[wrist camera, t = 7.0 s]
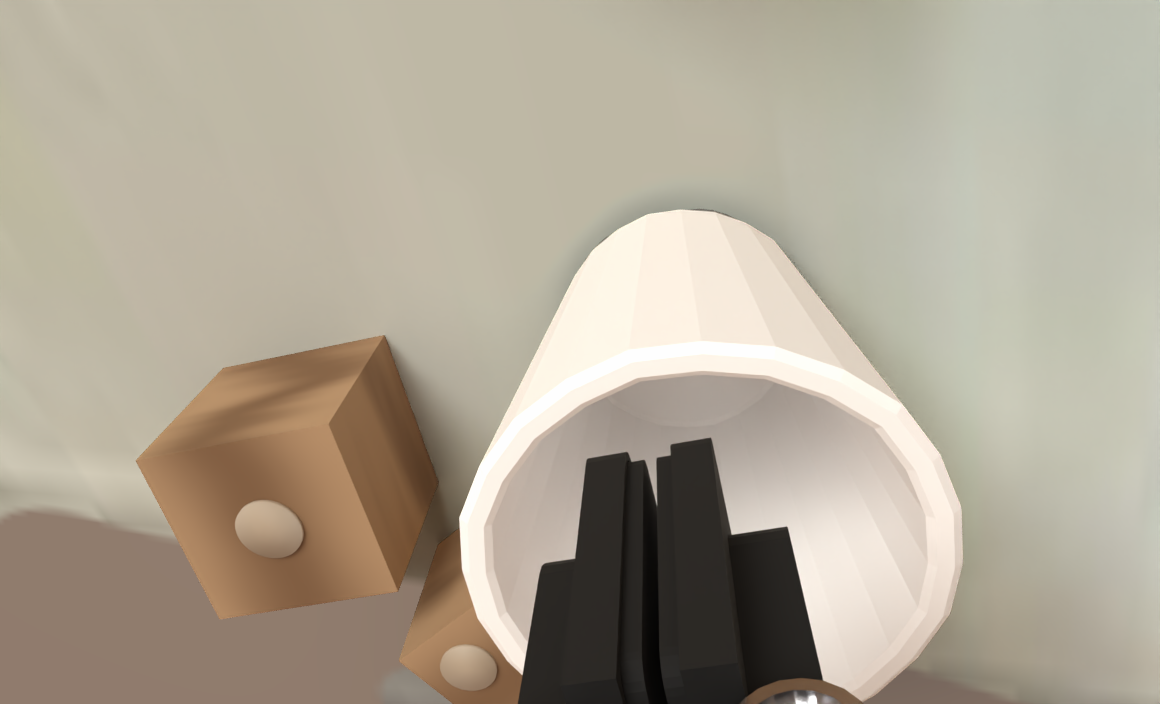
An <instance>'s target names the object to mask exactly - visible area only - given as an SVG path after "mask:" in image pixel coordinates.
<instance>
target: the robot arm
mask: <svg viewBox="0 0 1160 704" xmlns="http://www.w3.org/2000/svg"><path fill="white" fill-rule="evenodd" d="M670 452H671V455H669V456H663V457H658V458H657V459H656V470H657V504H656V500H655V496H654V492H653V488H652V484H651V479H650V475H649V471H648V468H647V464H646V462H645V460H640V461H634V462H631V459H630V456H629V454H628V452H622V453H617V454H611V455H605V456H599V457H593V458H588V459H587V461H586V467H585V476H584V484H583V493H582V502H581V510H580V519H579V528H578V537H577V545H576V554H575V559H569V560H562V561H555V562H549V563H544V564H543V565H542V566H541V570H540V574H539V579H538V585H537V591H536V597H535V603H534V609H533V615H532V621H531V627H530V633H529V639H528V645H527V651H526V657H525V663H524V669H523V675H522V681H521V687H520V693H519V699H518V704H863V703H862V701H860V700H859V699H858V698H856V697H855V696H854V695H852V694H851V693H850V692H848V691H847V690H845V689H844V688H841V687H839V686H836V685H834V684H831V683H828V682H826V681H823V677H822V673H821V668H820V664H819V660H818V655H817V651H816V647H815V642H814V638H813V634H812V629H811V625H810V621H809V616H808V612H807V608H806V603H805V599H804V595H803V590H802V586H801V582H800V577H799V573H798V569H797V565H796V560H795V556H794V552H793V547H792V543H791V539H790V534H789V530H788V527H780V528H773V529H767V530H760V531H753V532H747V533H740V534H734V535H732V534H731V529H730V524H729V519H728V514H727V510H726V505H725V500H724V495H723V490H722V486H721V481H720V476H719V471H718V466H717V462H716V457H715V452H714V447H713V443H712V439H711V438H705V439H699V440H693V441H687V442H681V443H675V444H671V445H670Z"/></svg>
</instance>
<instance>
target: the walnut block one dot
mask: <svg viewBox="0 0 1160 704" xmlns="http://www.w3.org/2000/svg"><path fill="white" fill-rule="evenodd" d="M136 462H137V464H138V466H139V468H140V470H141V472H142V474H143V475H144V477H145V479H146V481H147V483H148V485H149V487H150V489H151V491H152V492H153V494H154V496H155V498H156V500H157V502H158V504H159V506H160V508H161V509H162V511H163V513H164V515H165V517H166V519H167V521H168V523H169V525H170V526H171V528H172V530H173V532H174V534H175V536H176V538H177V540H178V542H179V543H180V545H181V547H182V549H183V551H184V553H185V555H186V557H187V559H188V560H189V562H190V564H191V566H192V568H193V570H194V572H195V574H196V575H197V577H198V579H199V581H200V583H201V585H202V587H203V589H204V591H205V593H206V594H207V596H208V598H209V600H210V602H211V604H212V606H213V608H214V609H215V611H216V613H217V615H218V617H219V619H225V618H231V617H238V616H244V615H250V614H257V613H263V612H270V611H277V610H282V609H289V608H296V607H302V606H309V605H315V604H322V603H328V602H334V601H341V600H347V599H354V598H359V597H366V596H373V595H380V594H386V593H392V592H398V590H399V588H400V585H401V582H402V580H403V577H404V574H405V572H406V569H407V566H408V563H409V561H410V558H411V555H412V553H413V550H414V547H415V544H416V542H417V539H418V536H419V534H420V531H421V528H422V526H423V523H424V520H425V517H426V515H427V512H428V509H429V507H430V504H431V501H432V498H433V496H434V493H435V490H436V488H437V485H438V479H437V477H436V474H435V471H434V468H433V466H432V463H431V460H430V458H429V455H428V452H427V449H426V447H425V444H424V441H423V439H422V436H421V433H420V430H419V428H418V425H417V422H416V420H415V417H414V414H413V411H412V409H411V406H410V403H409V401H408V398H407V395H406V392H405V390H404V387H403V384H402V382H401V379H400V376H399V373H398V371H397V368H396V365H395V363H394V360H393V357H392V354H391V352H390V349H389V346H388V343H387V341H386V338H385V335H383V336H378V337H373V338H368V339H363V340H358V341H353V342H348V343H344V344H339V345H334V346H329V347H324V348H319V349H314V350H309V351H304V352H300V353H295V354H290V355H285V356H280V357H275V358H270V359H265V360H260V361H256V362H251V363H246V364H241V365H236V366H231V367H226V368H223V369H222V370H221V371H220V372H219V373H218V374H217V375H216V376H215V377H214V378H213V379H212V380H211V381H210V383H209V384H208V385H207V386H206V387H205V388H204V389H203V390H202V391H201V392H200V393H199V394H198V395H197V396H196V397H195V398H194V399H193V401H192V402H191V403H190V404H189V405H188V406H187V407H186V408H185V409H184V410H183V411H182V412H181V413H180V414H179V415H178V416H177V417H176V418H175V420H174V421H173V422H172V423H171V424H170V425H169V426H168V427H167V428H166V429H165V430H164V431H163V432H162V433H161V434H160V435H159V436H158V438H157V439H156V440H155V441H154V442H153V443H152V444H151V445H150V446H149V447H148V448H147V449H146V450H145V451H144V452H143V453H142V454H141V455H140V457H139V458H138V459H137V460H136Z"/></svg>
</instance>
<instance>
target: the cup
mask: <svg viewBox="0 0 1160 704" xmlns="http://www.w3.org/2000/svg"><path fill="white" fill-rule="evenodd" d="M705 438H711V439H712V443H713V447H714V452H715V457H716V462H717V466H718V471H719V476H720V481H721V486H722V490H723V495H724V500H725V505H726V510H727V514H728V519H729V524H730V529H731V534H732V535H734V534H740V533H747V532H753V531H760V530H767V529H773V528H780V527H788V530H789V534H790V539H791V543H792V547H793V552H794V556H795V560H796V565H797V569H798V573H799V577H800V582H801V586H802V590H803V595H804V599H805V603H806V608H807V612H808V616H809V621H810V625H811V629H812V634H813V638H814V642H815V647H816V651H817V655H818V660H819V664H820V668H821V673H822V677H823V681H826V682H828V683H831V684H834V685H836V686H839V687H841V688H844V689H845V690H847V691H848V692H850V693H851V694H852V695H854V696H855V697H856V698H858V699H859V700H860V701H862V702H863V701H865V700H867V699H869V698H871V697H873V696H874V695H876V694H877V693H878V692H879V691H880V690H882V689H883V688H884V687H885V686H886V685H887V684H888V683H890V682H891V681H892V680H893V679H894V678H895V677H896V676H898V675H899V674H900V673H901V672H902V671H903V670H904V669H906V668H907V667H908V666H909V665H910V664H911V663H912V662H914V661H915V660H916V659H917V658H918V657H919V655H920V654H921V653H922V651H923V650H924V649H925V647H926V646H927V644H928V643H929V642H930V640H931V639H932V638H933V636H934V635H935V634H936V632H937V631H938V630H939V628H940V627H941V626H942V624H943V623H944V622H945V620H946V619H947V618H948V616H949V615H950V613H951V609H952V605H953V601H954V597H955V593H956V589H957V585H958V581H959V577H960V573H961V569H962V565H963V542H962V508H961V505H960V503H959V500H958V498H957V495H956V493H955V490H954V488H953V485H952V483H951V480H950V478H949V475H948V473H947V470H946V468H945V465H944V463H943V460H942V458H941V455H940V453H939V452H938V451H937V449H936V448H935V447H934V445H933V444H932V443H931V441H930V440H929V439H928V437H927V436H926V435H925V433H924V432H923V431H922V429H921V428H920V427H919V426H918V424H917V423H916V422H915V420H914V419H913V418H912V416H911V415H910V414H909V412H908V411H907V410H906V408H905V407H904V406H903V404H902V403H901V402H900V401H899V399H898V398H897V397H896V395H895V394H894V393H893V392H892V390H891V389H890V388H889V386H888V385H887V384H886V383H885V381H884V380H883V379H882V378H881V376H880V375H879V374H878V372H877V371H876V370H875V369H874V367H873V366H872V365H871V364H870V362H869V361H868V360H867V358H866V357H865V356H864V355H863V353H862V352H861V351H860V349H859V348H858V347H857V346H856V344H855V343H854V342H853V341H852V339H851V338H850V337H849V335H848V334H847V333H846V332H845V330H844V329H843V328H842V326H841V325H840V324H839V323H838V321H837V320H836V319H835V318H834V316H833V315H832V314H831V312H830V311H829V310H828V309H827V307H826V306H825V305H824V303H823V302H822V301H821V300H820V298H819V297H818V296H817V295H816V293H815V292H814V291H813V289H812V288H811V287H810V286H809V284H808V283H807V282H806V280H805V279H804V278H803V277H802V275H801V274H800V273H799V272H798V270H797V269H796V268H795V266H794V265H793V264H792V263H791V261H790V260H789V259H788V257H787V256H786V255H785V254H784V252H783V251H782V250H781V249H780V247H779V246H778V245H777V244H776V242H775V241H774V240H773V239H771V238H770V237H768V236H766V235H765V234H763V233H762V232H760V231H758V230H757V229H755V228H754V227H752V226H750V225H749V224H747V223H745V222H742V221H739V220H737V219H735V218H733V217H731V216H729V215H726V214H723V213H720V212H716V211H713V210H704V209H694V210H674V211H667V212H660V213H653V214H647V215H645V216H643V217H641V218H639V219H637V220H635V221H633V222H631V223H629V224H627V225H625V226H623V227H621V228H619V229H618V230H616V231H615V232H614V233H613V234H611V235H610V236H608V237H606V238H605V239H604V240H603V241H601V242H600V243H599V244H598V245H597V246H596V247H595V248H594V249H593V250H592V252H591V253H590V254H589V256H588V257H587V258H586V259H585V261H584V263H583V264H582V266H581V267H580V269H579V270H578V272H577V273H576V275H575V276H574V278H573V280H572V282H571V284H570V286H569V288H568V290H567V292H566V294H565V296H564V298H563V300H562V302H561V304H560V306H559V308H558V310H557V312H556V314H555V316H554V318H553V320H552V322H551V324H550V326H549V328H548V330H547V332H546V334H545V336H544V338H543V340H542V342H541V344H540V346H539V348H538V350H537V352H536V354H535V356H534V358H533V360H532V362H531V364H530V366H529V368H528V370H527V372H526V374H525V376H524V378H523V380H522V382H521V384H520V386H519V388H518V390H517V392H516V394H515V396H514V398H513V400H512V402H511V404H510V406H509V408H508V410H507V412H506V414H505V416H504V418H503V420H502V422H501V424H500V426H499V428H498V430H497V432H496V434H495V436H494V438H493V440H492V442H491V444H490V446H489V448H488V450H487V452H486V454H485V456H484V458H483V460H482V462H481V464H480V466H479V468H478V471H477V473H476V476H475V479H474V481H473V484H472V486H471V489H470V491H469V494H468V497H467V499H466V502H465V504H464V507H463V510H462V512H461V515H460V517H459V522H460V541H461V560H462V571H463V574H464V578H465V581H466V584H467V587H468V590H469V593H470V596H471V599H472V602H473V606H474V609H475V612H476V615H477V618H478V620H479V621H480V623H481V624H482V626H483V627H484V628H485V630H486V631H487V633H488V634H489V636H490V637H491V638H492V640H493V641H494V643H495V644H496V646H497V647H498V648H499V650H500V651H501V653H502V654H503V656H504V657H505V658H506V660H507V661H508V662H509V663H510V664H511V665H512V666H513V667H514V668H515V669H516V670H517V671H518V672H519V673H520V674H522V675H523V669H524V663H525V657H526V651H527V645H528V639H529V633H530V627H531V621H532V615H533V609H534V603H535V597H536V591H537V585H538V579H539V574H540V570H541V566H542V565H543V564H544V563H549V562H555V561H562V560H569V559H575V554H576V545H577V537H578V528H579V519H580V510H581V502H582V493H583V484H584V476H585V467H586V461H587V459H588V458H593V457H599V456H605V455H611V454H617V453H622V452H628V454H629V456H630V459H631V462H634V461H640V460H645V462H646V464H647V468H648V471H649V475H650V479H651V484H652V488H653V492H654V496H655V500H656V504H657V470H656V459H657V458H658V457H663V456H669V455H671V452H670V445H671V444H675V443H681V442H687V441H693V440H699V439H705Z"/></svg>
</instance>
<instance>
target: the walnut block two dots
mask: <svg viewBox="0 0 1160 704" xmlns="http://www.w3.org/2000/svg"><path fill="white" fill-rule="evenodd" d="M399 662H401V663H402V664H403V665H404V666H406V667H407V668H408V669H409V670H411V671H412V672H413V673H415V674H416V675H417V676H418V677H420V678H421V679H422V680H423V681H425V682H426V683H427V684H429V685H430V686H431V687H432V688H434V689H435V690H436V691H437V692H439V693H440V694H441V695H443V696H444V697H445V698H446V699H448V700H449V701H450V702H451V703H453V704H518V699H519V693H520V687H521V681H522V674H520V673H519V672H518V671H517V670H516V669H515V668H514V667H513V666H512V665H511V664H510V663H509V662H508V661H507V660H506V658H505V657H504V656H503V654H502V653H501V651H500V650H499V648H498V647H497V646H496V644H495V643H494V641H493V640H492V638H491V637H490V636H489V634H488V633H487V631H486V630H485V628H484V627H483V626H482V624H481V623H480V621H479V620H478V618H477V615H476V612H475V609H474V606H473V602H472V599H471V596H470V593H469V590H468V587H467V584H466V581H465V578H464V574H463V571H462V560H461V541H460V528H459V529H457V530H456V531H455V532H454V533H452V534H451V535H450V536H448V537H447V538H446V539H445V540H443V541H442V542H441V543H439V544H438V546H437V549H436V552H435V555H434V558H433V561H432V564H431V567H430V570H429V573H428V576H427V579H426V582H425V585H424V588H423V590H422V593H421V596H420V599H419V602H418V605H417V608H416V611H415V614H414V617H413V620H412V623H411V626H410V629H409V632H408V635H407V638H406V641H405V644H404V646H403V650H402V653H401V655H400V658H399Z"/></svg>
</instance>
